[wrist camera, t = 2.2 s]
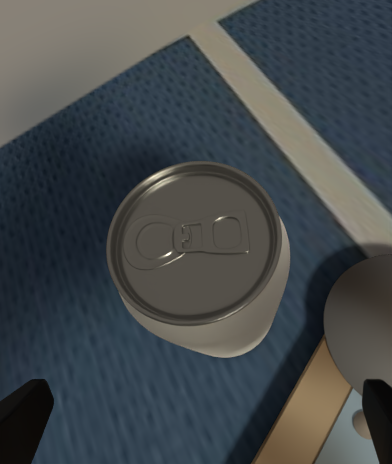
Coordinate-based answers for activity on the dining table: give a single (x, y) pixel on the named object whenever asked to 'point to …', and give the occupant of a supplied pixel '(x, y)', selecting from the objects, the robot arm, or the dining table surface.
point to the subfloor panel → (339, 375)
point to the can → (200, 257)
